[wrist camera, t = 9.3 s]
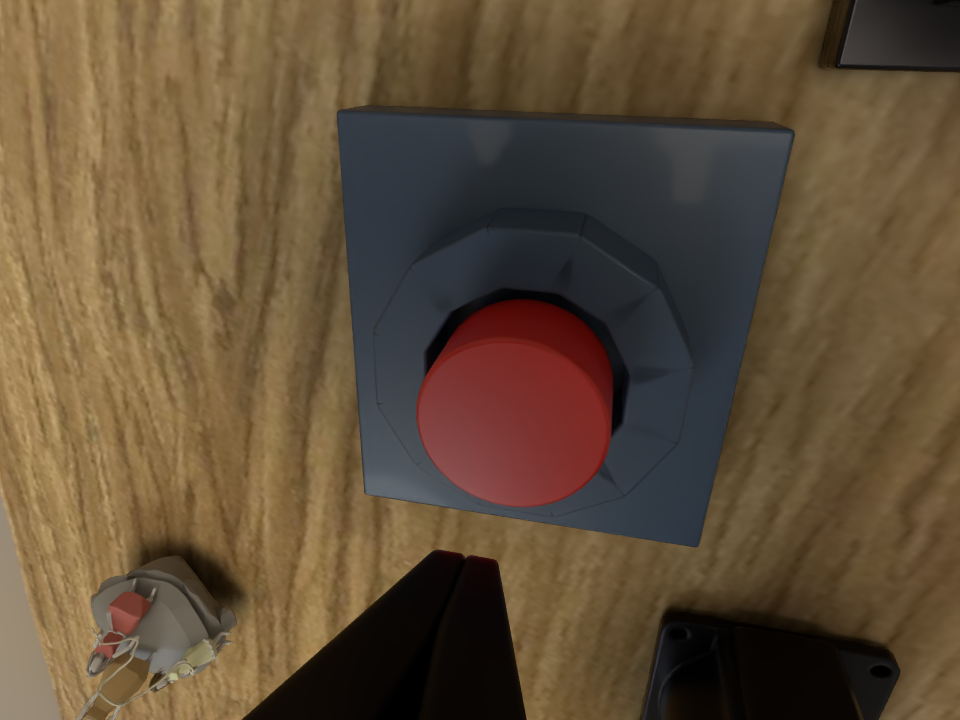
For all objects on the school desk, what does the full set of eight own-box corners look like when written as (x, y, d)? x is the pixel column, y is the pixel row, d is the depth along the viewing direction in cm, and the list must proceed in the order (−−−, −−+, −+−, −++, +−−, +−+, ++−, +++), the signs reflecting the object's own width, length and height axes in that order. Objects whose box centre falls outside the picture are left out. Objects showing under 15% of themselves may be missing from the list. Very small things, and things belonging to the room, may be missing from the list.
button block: (692, 506, 17) (707, 604, 14) (384, 460, 19) (336, 539, 16) (777, 121, 13) (825, 140, 10) (365, 104, 14) (293, 115, 11)
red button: (603, 461, 13) (599, 522, 12) (443, 438, 14) (416, 494, 12) (623, 306, 12) (623, 350, 10) (443, 289, 13) (412, 327, 11)
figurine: (135, 608, 25) (0, 757, 19) (119, 523, 23) (-36, 664, 17) (257, 643, 24) (152, 808, 19) (253, 558, 22) (133, 717, 17)
